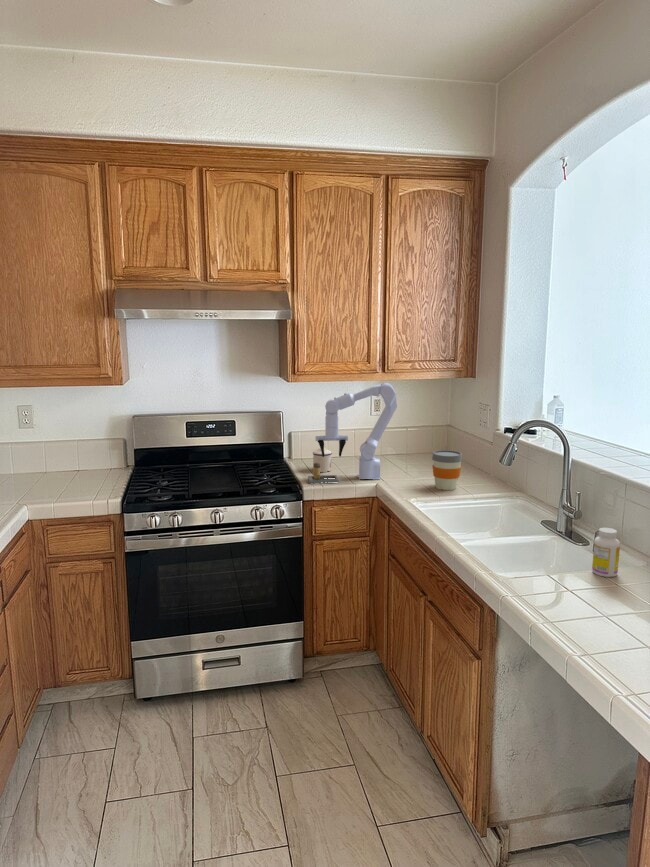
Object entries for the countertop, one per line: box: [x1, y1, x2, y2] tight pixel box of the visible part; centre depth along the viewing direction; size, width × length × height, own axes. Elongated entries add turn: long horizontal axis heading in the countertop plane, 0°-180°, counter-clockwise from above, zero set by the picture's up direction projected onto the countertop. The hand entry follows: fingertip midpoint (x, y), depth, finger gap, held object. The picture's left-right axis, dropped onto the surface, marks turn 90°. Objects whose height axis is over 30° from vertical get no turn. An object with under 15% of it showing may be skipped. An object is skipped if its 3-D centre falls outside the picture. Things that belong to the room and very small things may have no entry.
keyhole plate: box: [307, 474, 340, 484], centre depth 272 cm, size 13×8×2 cm, turn 97°
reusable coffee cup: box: [431, 449, 463, 491], centre depth 262 cm, size 13×13×15 cm
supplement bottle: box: [591, 527, 621, 578], centre depth 173 cm, size 7×7×13 cm
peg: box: [312, 463, 321, 479], centre depth 271 cm, size 3×3×8 cm
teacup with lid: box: [312, 446, 333, 473], centre depth 292 cm, size 12×9×12 cm
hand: (331, 456), depth 277 cm, fingers open, 7 cm apart
